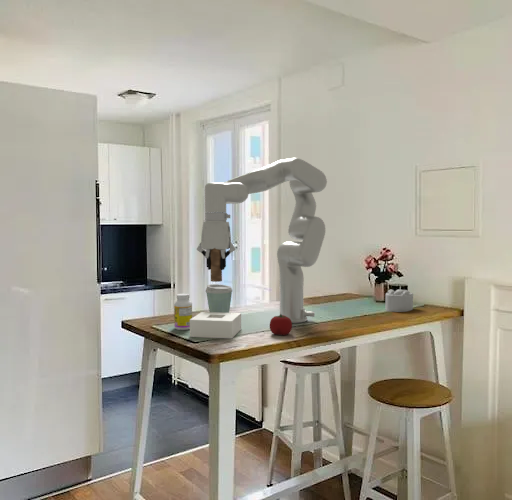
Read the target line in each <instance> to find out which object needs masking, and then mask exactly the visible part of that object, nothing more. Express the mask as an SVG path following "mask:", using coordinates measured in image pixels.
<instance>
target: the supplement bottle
mask: <svg viewBox="0 0 512 500" xmlns="http://www.w3.org/2000/svg"><path fill="white" fill-rule="evenodd" d="M176 299H177V300H176V301H175V302H174V303H173V309H174V310H173V313H174V315H173V319H174V320H173V321H174V324H173V325H174V329H175V330H177V331H187V330H190V319H192V318H193V302H192V301H191V300H190V294H189V293H177V294H176Z"/></svg>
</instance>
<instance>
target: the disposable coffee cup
mask: <svg viewBox="0 0 512 500" xmlns="http://www.w3.org/2000/svg"><path fill="white" fill-rule="evenodd" d="M232 293H233V288H232V287H231V286H230V285H226V284H219V283H218V284H216V283H214V284H213V283H212V284H208V285H207V284H206V288H205V294H206V298H207V305H208V312H222V313H230V311H231V310H230V309H231V301H232Z"/></svg>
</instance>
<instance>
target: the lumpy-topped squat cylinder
mask: <svg viewBox="0 0 512 500" xmlns="http://www.w3.org/2000/svg"><path fill="white" fill-rule="evenodd" d="M384 306H385V307H384V308H385V311H387V312H392V313H394V312H395V313H397V312H398V313H400V312H401V313H402V312H405V313H406V312H410V311H413V310H414V293H413V292H410V291H409V290H407V289H396V290H394V289H388V290H387V292H386V293H385V305H384Z"/></svg>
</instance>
